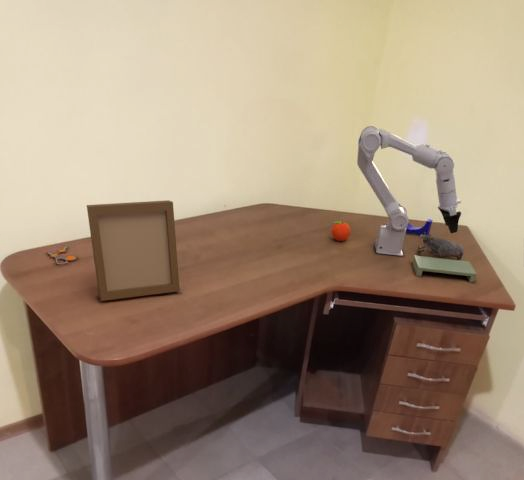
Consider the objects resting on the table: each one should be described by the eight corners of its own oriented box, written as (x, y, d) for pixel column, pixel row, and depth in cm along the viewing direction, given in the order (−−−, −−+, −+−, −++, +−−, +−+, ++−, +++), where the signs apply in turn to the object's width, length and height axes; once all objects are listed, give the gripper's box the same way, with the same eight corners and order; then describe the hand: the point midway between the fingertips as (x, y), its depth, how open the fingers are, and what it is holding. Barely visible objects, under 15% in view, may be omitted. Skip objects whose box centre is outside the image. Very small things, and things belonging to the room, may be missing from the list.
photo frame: (179, 294, 149) (178, 208, 135) (101, 304, 141) (91, 214, 127) (166, 271, 160) (164, 191, 146) (93, 279, 152) (83, 195, 138)
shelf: (416, 275, 172) (418, 267, 170) (412, 263, 180) (414, 255, 179) (474, 282, 171) (476, 274, 170) (467, 269, 180) (469, 261, 178)
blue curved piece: (396, 229, 207) (399, 215, 203) (399, 226, 210) (403, 212, 207) (425, 237, 202) (429, 223, 198) (428, 234, 205) (432, 220, 202)
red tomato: (325, 241, 191) (328, 222, 187) (329, 234, 196) (332, 216, 193) (347, 245, 189) (350, 226, 185) (350, 238, 195) (353, 220, 191)
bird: (462, 263, 184) (468, 243, 179) (416, 257, 185) (421, 237, 181) (460, 257, 188) (466, 238, 184) (415, 251, 190) (420, 231, 186)
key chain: (78, 262, 160) (78, 260, 160) (54, 266, 157) (53, 263, 156) (68, 246, 169) (68, 244, 168) (45, 250, 166) (44, 247, 165)
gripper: (463, 193, 167) (468, 232, 174) (454, 181, 179) (458, 218, 186) (441, 199, 169) (446, 238, 175) (433, 187, 181) (438, 223, 187)
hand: (451, 228), depth 181 cm, fingers open, 7 cm apart
